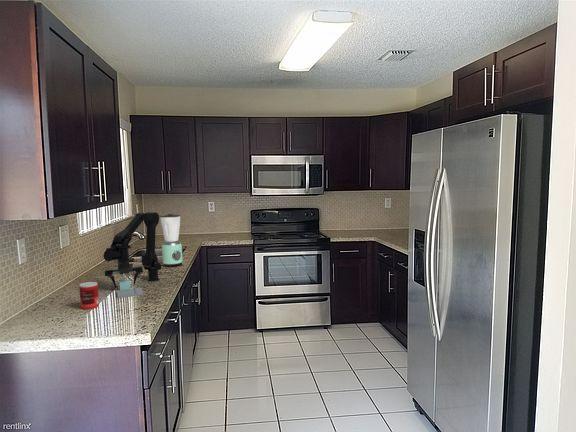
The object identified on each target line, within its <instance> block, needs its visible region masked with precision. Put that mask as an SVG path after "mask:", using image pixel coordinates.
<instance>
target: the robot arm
mask: <svg viewBox="0 0 576 432" xmlns="http://www.w3.org/2000/svg"><path fill="white" fill-rule="evenodd" d="M159 220H160V214H159V213H158V212H157V211H156V212H155V211H152V212H151V211H149V212H145V213H144V212H137V213H136V214H135V215H134V217H133V218H132V219H131V221H130V222H129V223H128V224H127V226H125V228H124V229H123V230H121V231H119V232H118V233H116V234H115V235H114V237H113V240H112V242H111V244H110V247H107V248H105V251H104V253H103V258H104V261H105V262H112V261H116V260H117V269H113V268H105V269H104V277H107V278H109V279H110V280H111V282H112V283H113V286H114V288H115V289H116V288H117V284H116V279H115V275H114V274H119V275H125V274H126V275H129V274H130V272H131V273H132V272H133V283H132V284H133V286H134V287H135V286H136V282H137V278H138V276H139V275H141V273H143V272H144V270H145V271H146V270H147V276H148V277H147V278H146V279H147V282H154V281H160V280H161V279H160V277H159V270H162V266H163V264H161V263H160V262H159V260H158V256H157V254H156V230H157V229H156V228H157V227H158V224H159V222H160V221H159ZM142 223H144V225H145V227H146V233H145V234H146V235H145V237H146V239H145V242H146V243H145V253H144V255H141V265H135V266H133V265H134V264H133V263H130V256H129V252H130V251H129V250H130V249H132V246H131V245H129V244H130V243H131V241H132V238H133V235H134V233H135V232H136V230H137V229H138V228H139V227H140V226H141V224H142Z"/></svg>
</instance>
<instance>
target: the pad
mask: <svg viewBox="0 0 576 432" xmlns="http://www.w3.org/2000/svg"><path fill="white" fill-rule="evenodd" d="M116 295H117V299H121V298H122V299H123V298H129V297H137V296H138V297H139V296H143V295H144V292H143V288H142V287H136V288H130V289H125V290H120V289H118V290H116Z"/></svg>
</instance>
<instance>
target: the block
mask: <svg viewBox="0 0 576 432" xmlns="http://www.w3.org/2000/svg"><path fill="white" fill-rule="evenodd" d="M130 281H131V280H130V279H128V278H127V279H119V281H118V282H119V290H125V289H131V282H130Z"/></svg>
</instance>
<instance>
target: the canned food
mask: <svg viewBox="0 0 576 432" xmlns="http://www.w3.org/2000/svg"><path fill="white" fill-rule="evenodd" d="M78 288H79V290H78V291H79V301H80V308H81V310H93V309H96V308H97V307H98V308H99V305H100V300H99V285H98V282H97V281H86V282H82V283H80V284H79V286H78Z"/></svg>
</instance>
